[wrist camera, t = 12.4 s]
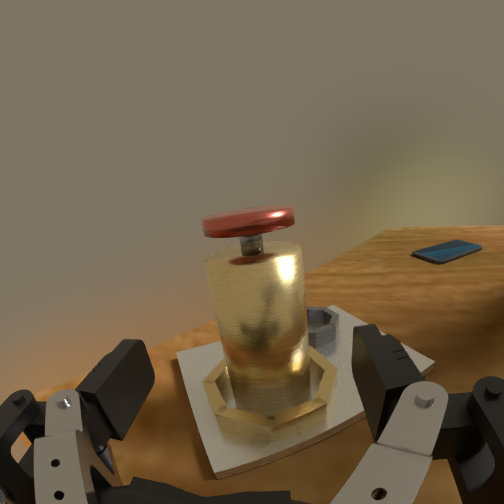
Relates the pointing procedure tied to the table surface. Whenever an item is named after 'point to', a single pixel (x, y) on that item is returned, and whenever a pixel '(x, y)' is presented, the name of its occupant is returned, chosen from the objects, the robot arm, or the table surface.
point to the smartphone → (447, 251)
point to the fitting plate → (290, 421)
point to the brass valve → (260, 309)
